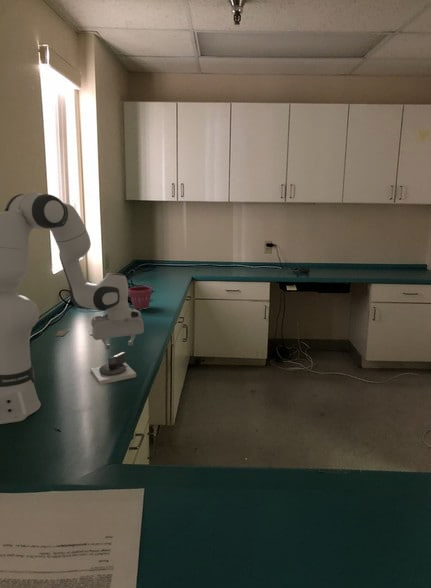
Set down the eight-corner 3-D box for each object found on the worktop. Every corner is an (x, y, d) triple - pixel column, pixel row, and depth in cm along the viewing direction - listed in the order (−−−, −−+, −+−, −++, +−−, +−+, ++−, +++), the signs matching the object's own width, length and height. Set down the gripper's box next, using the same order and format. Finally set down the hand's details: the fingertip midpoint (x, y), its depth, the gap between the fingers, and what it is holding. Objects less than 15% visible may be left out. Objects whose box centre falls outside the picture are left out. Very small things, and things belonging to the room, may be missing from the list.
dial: (114, 377, 166) (113, 364, 165) (94, 372, 171) (93, 359, 170) (134, 366, 177) (133, 354, 176) (114, 362, 181) (114, 350, 180)
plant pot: (125, 311, 269) (124, 290, 266) (133, 305, 283) (132, 285, 280) (148, 311, 267) (147, 291, 264) (155, 306, 280) (154, 286, 278)
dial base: (99, 384, 164) (99, 380, 164) (90, 371, 176) (90, 368, 176) (136, 376, 171) (136, 372, 170) (125, 365, 183) (124, 361, 182)
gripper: (93, 318, 168) (94, 353, 171) (144, 312, 177) (145, 345, 180) (89, 314, 173) (91, 348, 176) (139, 309, 183) (140, 341, 186)
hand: (119, 347), depth 178 cm, fingers open, 8 cm apart
